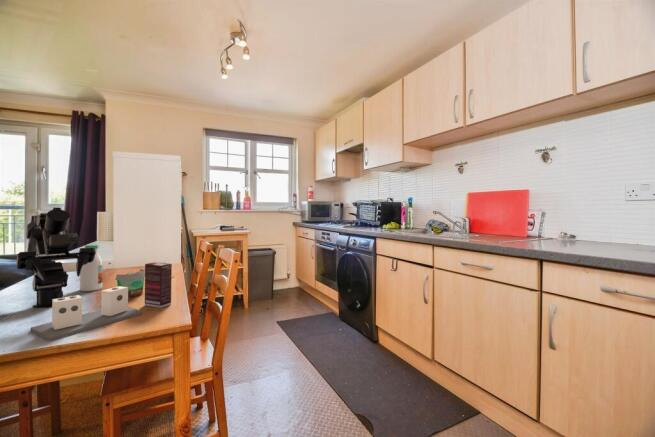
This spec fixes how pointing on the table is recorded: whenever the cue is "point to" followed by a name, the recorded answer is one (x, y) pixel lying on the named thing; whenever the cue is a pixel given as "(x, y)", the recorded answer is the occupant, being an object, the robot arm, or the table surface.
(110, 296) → the push button box
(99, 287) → the milk bottle
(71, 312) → the white block grey domes
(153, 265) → the supplement box
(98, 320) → the key mat
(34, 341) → the table surface
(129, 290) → the food container
